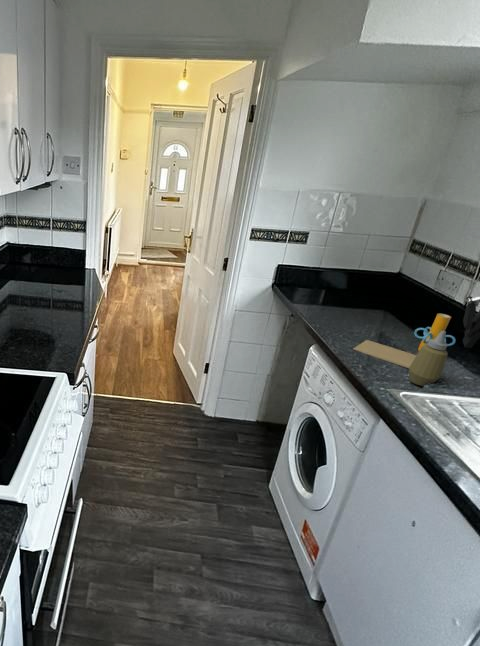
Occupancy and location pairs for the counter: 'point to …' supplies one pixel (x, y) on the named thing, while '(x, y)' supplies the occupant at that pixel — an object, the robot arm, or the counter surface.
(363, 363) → the counter surface
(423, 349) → the squeeze bottle
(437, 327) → the orange cylinder with loops
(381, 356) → the cork mat
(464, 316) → the robot arm
